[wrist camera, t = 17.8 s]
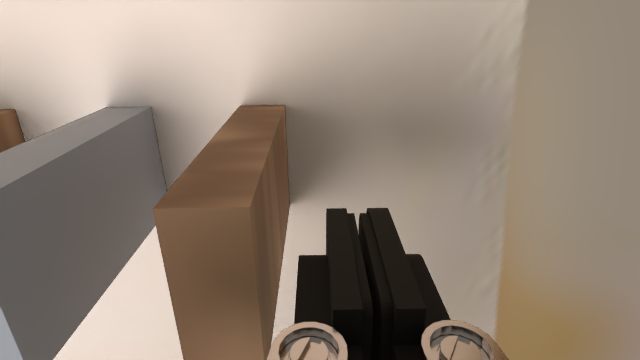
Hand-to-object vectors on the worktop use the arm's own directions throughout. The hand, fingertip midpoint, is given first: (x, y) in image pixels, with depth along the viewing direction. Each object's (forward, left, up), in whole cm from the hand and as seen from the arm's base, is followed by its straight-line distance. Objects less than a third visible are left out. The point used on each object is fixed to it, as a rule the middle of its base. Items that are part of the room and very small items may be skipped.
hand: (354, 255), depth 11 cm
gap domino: (+8, +5, -8) cm, 12 cm away
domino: (+3, +2, -8) cm, 9 cm away
